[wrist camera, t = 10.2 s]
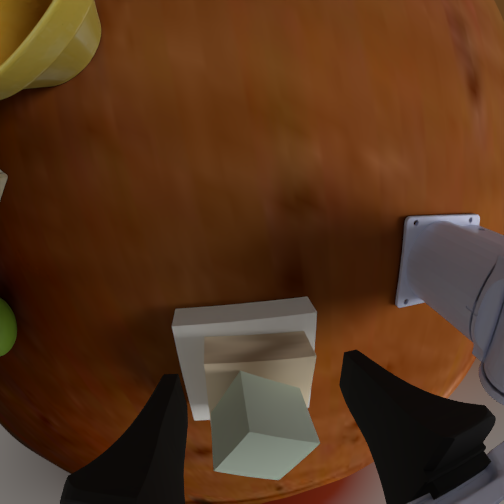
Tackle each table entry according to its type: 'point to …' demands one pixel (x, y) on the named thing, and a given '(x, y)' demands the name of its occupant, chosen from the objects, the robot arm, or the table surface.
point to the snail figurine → (7, 327)
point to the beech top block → (258, 361)
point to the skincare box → (2, 182)
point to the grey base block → (232, 324)
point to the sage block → (261, 428)
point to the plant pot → (45, 42)
